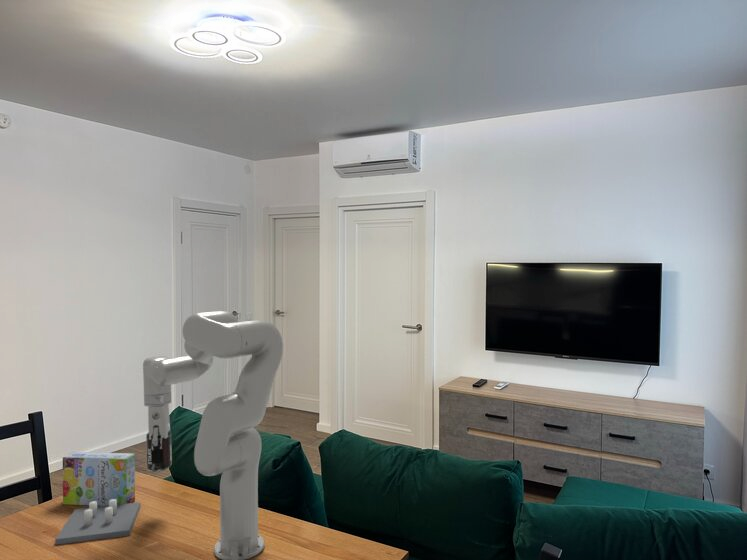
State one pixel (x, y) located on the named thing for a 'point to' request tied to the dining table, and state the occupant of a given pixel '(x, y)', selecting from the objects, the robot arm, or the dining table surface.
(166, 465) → the beverage can
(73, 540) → the peg stand
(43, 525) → the dining table surface
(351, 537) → the dining table surface
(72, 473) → the snack box
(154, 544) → the dining table surface
